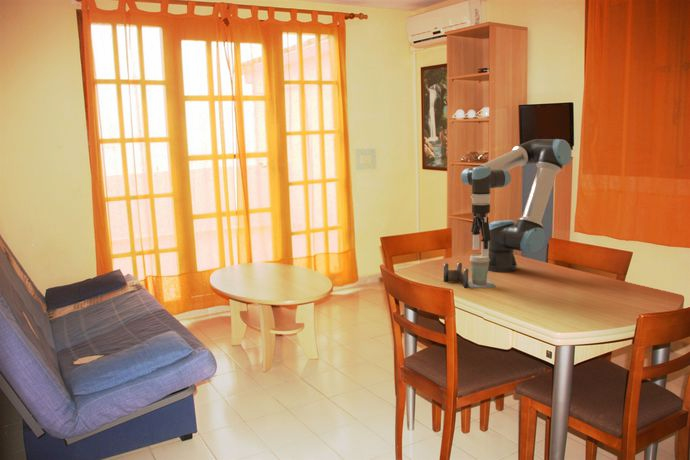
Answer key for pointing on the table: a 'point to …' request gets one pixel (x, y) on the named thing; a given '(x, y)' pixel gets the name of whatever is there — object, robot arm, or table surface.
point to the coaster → (487, 285)
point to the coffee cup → (479, 268)
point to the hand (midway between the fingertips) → (480, 252)
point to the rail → (456, 275)
